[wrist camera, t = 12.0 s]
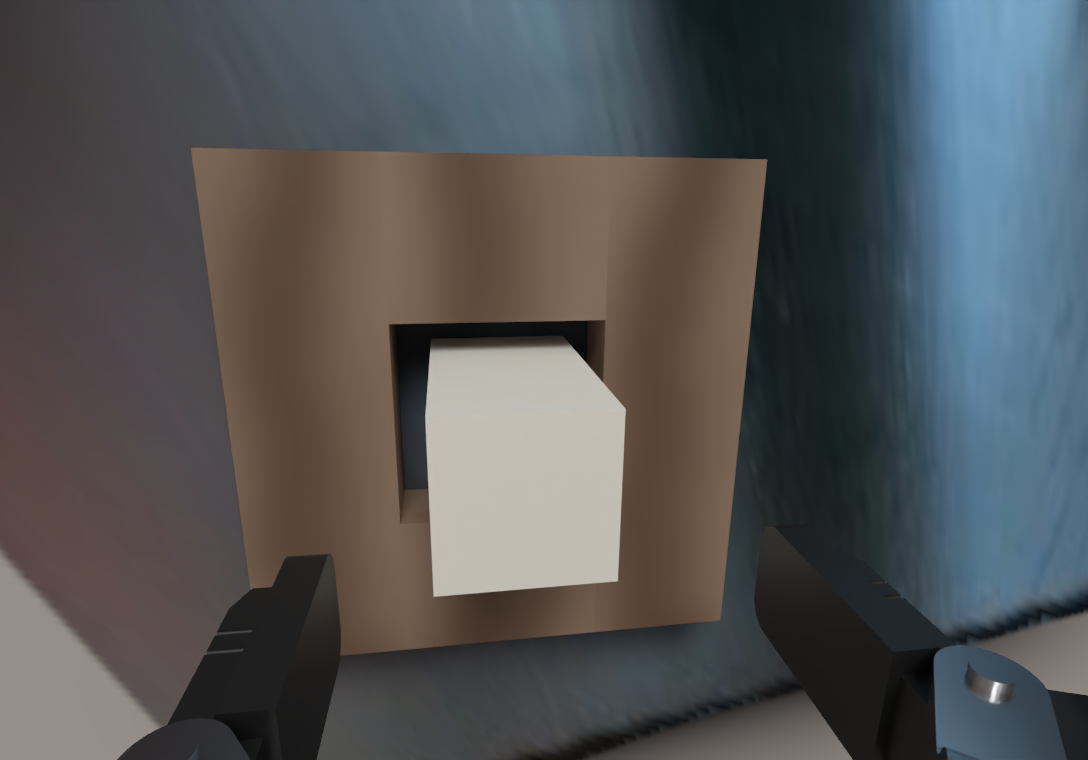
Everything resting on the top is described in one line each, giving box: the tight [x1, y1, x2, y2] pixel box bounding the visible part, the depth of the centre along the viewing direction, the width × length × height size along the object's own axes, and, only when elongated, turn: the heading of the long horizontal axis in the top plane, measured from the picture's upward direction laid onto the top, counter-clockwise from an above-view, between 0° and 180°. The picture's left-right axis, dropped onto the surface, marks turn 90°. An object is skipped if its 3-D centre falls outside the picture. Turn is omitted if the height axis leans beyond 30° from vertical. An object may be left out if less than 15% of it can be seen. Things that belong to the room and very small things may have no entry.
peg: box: [425, 336, 626, 597], centre depth 19 cm, size 4×4×8 cm
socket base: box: [191, 148, 767, 656], centre depth 21 cm, size 16×16×2 cm
